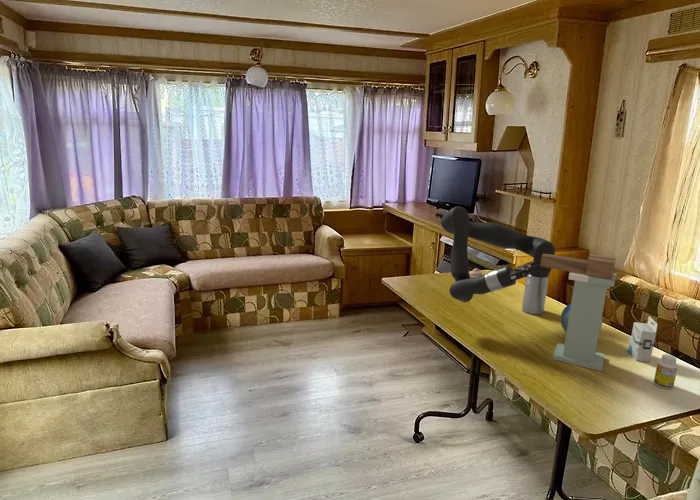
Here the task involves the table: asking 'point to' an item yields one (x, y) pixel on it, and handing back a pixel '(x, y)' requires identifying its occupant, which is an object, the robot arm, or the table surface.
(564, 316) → the decorative ball
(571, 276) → the stand
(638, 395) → the table surface
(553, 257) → the walnut block
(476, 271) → the cupcake
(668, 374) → the supplement bottle
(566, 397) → the table surface
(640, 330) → the ink box
